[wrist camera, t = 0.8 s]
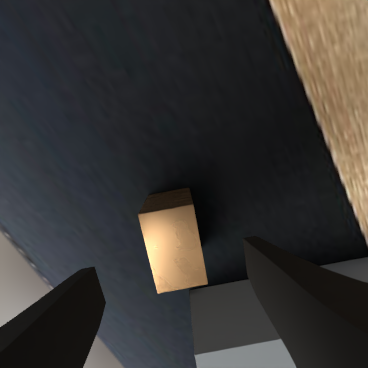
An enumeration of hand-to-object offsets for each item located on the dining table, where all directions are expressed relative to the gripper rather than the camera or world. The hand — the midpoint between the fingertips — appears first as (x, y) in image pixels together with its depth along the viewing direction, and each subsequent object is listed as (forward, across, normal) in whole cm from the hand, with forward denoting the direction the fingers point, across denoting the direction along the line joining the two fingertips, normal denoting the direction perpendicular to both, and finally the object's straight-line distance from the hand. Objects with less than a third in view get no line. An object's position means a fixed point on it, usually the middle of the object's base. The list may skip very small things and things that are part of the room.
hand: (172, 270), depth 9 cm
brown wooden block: (+6, 0, 0) cm, 6 cm away
